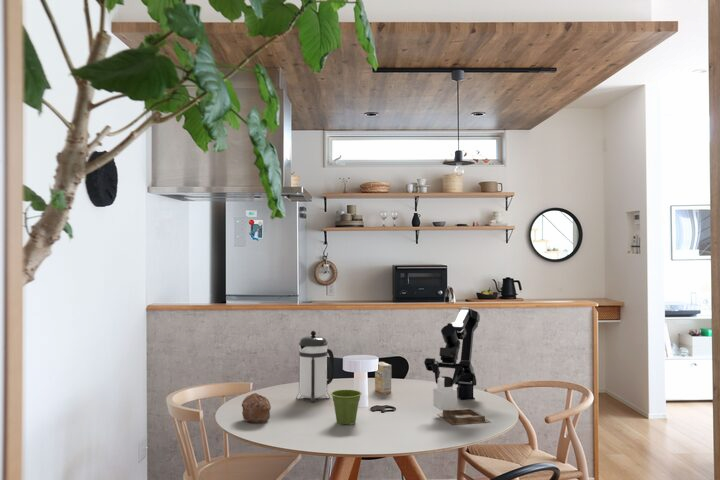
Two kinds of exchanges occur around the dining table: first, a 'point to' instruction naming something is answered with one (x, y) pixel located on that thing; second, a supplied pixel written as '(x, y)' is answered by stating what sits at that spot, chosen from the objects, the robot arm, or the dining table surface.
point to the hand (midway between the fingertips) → (444, 383)
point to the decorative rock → (256, 408)
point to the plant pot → (346, 405)
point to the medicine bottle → (444, 394)
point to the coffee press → (314, 367)
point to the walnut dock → (463, 416)
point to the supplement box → (383, 378)
